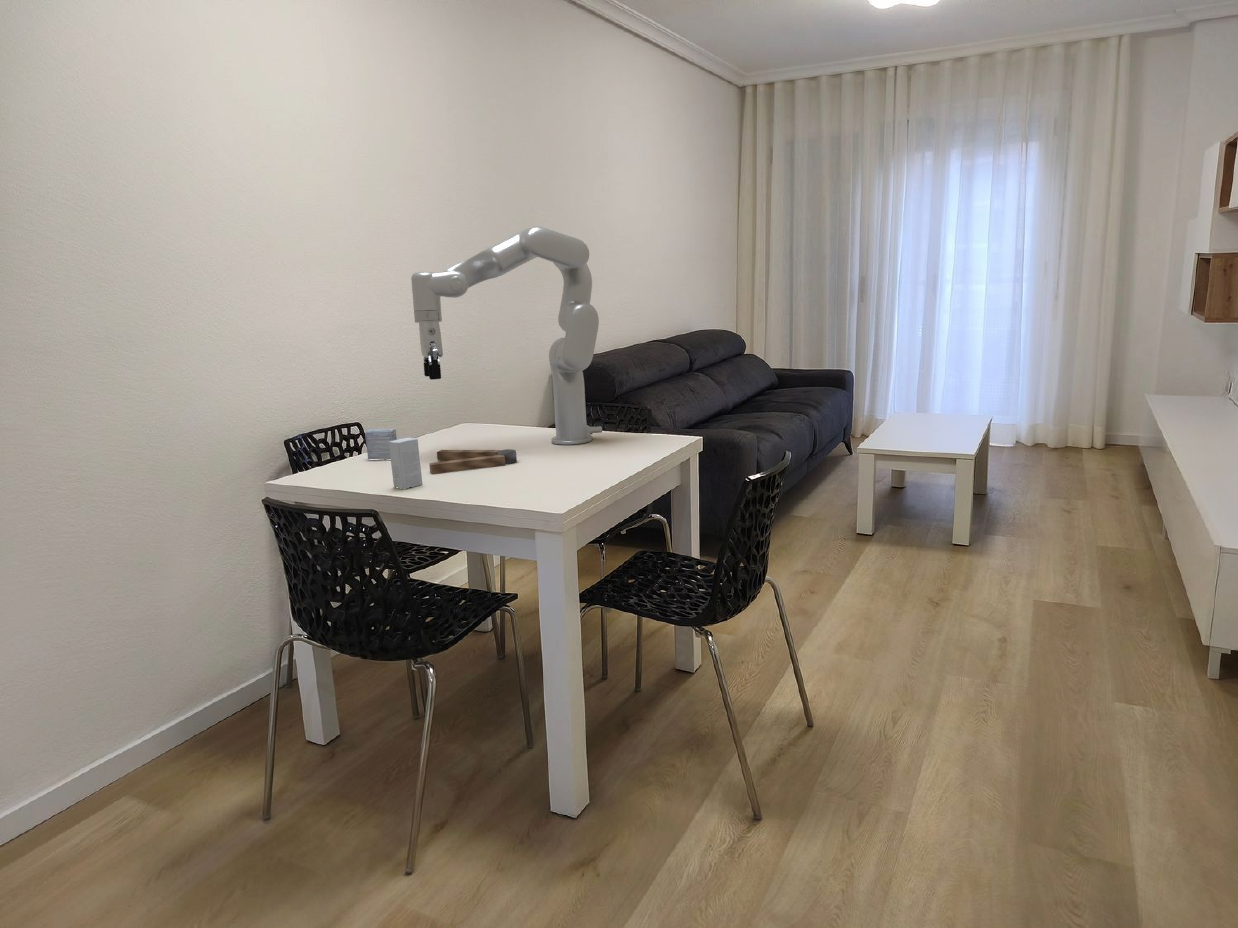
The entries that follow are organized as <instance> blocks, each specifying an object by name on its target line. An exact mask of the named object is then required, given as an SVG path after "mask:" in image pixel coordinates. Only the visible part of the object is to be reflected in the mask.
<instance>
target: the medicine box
mask: <svg viewBox="0 0 1238 928" xmlns="http://www.w3.org/2000/svg"><path fill="white" fill-rule="evenodd" d="M364 433H365V434H364V435H365V444H366V452H367V460H368V459H391V458H390V450H389V441H393V440H398V438H397V429H396V428H376V429H375V428H371V429H368V430H367V431H365V432H364Z"/></svg>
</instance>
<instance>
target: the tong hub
mask: <svg viewBox="0 0 1238 928" xmlns="http://www.w3.org/2000/svg"><path fill="white" fill-rule="evenodd" d="M499 450H500V449H499ZM517 459H518V457H517V449H501V450H500V451H498V455H494V456H485V457H477V458H468V459H460V460H451V461H435V462H429V464H428V465H429V472H430V474H431V475H437V473H438V474H445V473H454V472H461V471H469V470H470V471H471V470H479V469H485V468H495V467H502V466H506V465H514V464H516V463H517V462H518V460H517Z"/></svg>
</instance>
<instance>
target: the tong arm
mask: <svg viewBox="0 0 1238 928" xmlns="http://www.w3.org/2000/svg"><path fill="white" fill-rule="evenodd" d="M498 451H500V449H440V450H438V451H436V456H437V457H436V459H437V462H442V461H451V460H460V459H468V458H477V457H485V456H494V455H498Z"/></svg>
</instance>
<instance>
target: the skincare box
mask: <svg viewBox="0 0 1238 928" xmlns="http://www.w3.org/2000/svg"><path fill="white" fill-rule="evenodd" d="M389 450H390V458H391V460H390V464H391V472H392V473H391V474H392V482H393V483H392V484H393V488H394V487H398V488H401V489H400V490H402V489H405V490H407V489H406V488H408V489H410V488H409V487H412V488H415V487H418V486H422V485H423V475H422V467H421V458H420V450H419V439H418V438H415V437H404V438H399V439H398V438H397V440H393V441H389Z"/></svg>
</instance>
